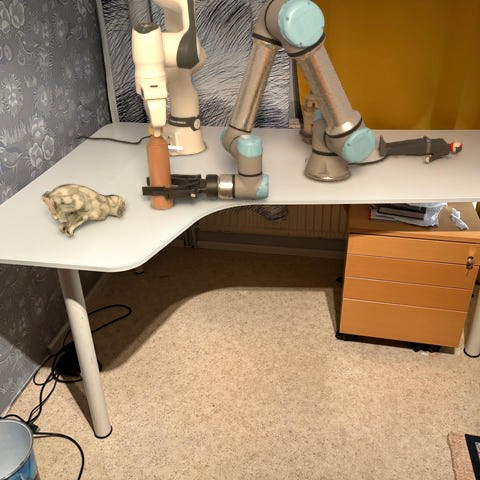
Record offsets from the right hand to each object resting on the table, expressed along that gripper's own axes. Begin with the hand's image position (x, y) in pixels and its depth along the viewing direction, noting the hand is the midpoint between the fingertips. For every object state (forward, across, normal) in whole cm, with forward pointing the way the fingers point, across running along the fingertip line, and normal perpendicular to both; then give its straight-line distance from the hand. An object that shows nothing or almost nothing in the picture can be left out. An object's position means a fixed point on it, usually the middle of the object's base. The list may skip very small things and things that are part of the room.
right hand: (144, 186), depth 166 cm
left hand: (-5, 0, +17) cm, 18 cm away
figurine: (+14, -15, -6) cm, 22 cm away
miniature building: (-58, +62, -6) cm, 85 cm away
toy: (-96, +45, -6) cm, 106 cm away
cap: (-5, 0, +19) cm, 19 cm away
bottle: (-5, 0, -6) cm, 8 cm away
